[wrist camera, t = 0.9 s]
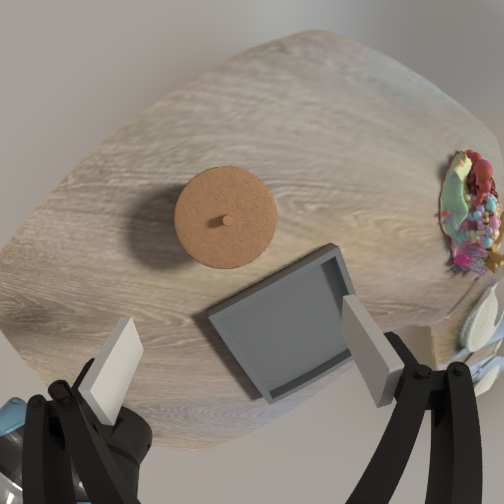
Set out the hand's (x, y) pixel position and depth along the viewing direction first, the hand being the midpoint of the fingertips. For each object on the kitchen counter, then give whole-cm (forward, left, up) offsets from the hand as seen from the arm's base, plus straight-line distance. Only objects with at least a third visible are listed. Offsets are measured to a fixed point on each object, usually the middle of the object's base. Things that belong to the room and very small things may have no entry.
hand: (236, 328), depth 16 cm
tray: (+5, -17, -21) cm, 27 cm away
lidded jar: (+3, +4, -21) cm, 22 cm away
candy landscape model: (+49, -18, -22) cm, 57 cm away
